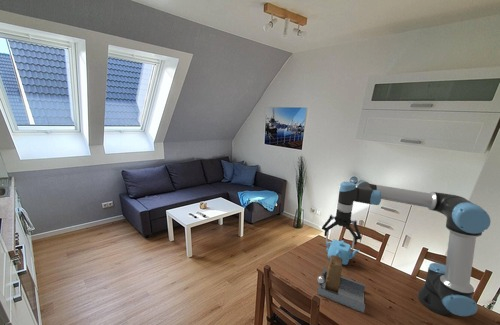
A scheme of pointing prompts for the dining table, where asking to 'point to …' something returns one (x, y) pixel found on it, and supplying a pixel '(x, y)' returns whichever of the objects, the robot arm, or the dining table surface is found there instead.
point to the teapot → (340, 250)
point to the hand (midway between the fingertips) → (339, 245)
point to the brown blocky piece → (334, 273)
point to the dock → (344, 292)
